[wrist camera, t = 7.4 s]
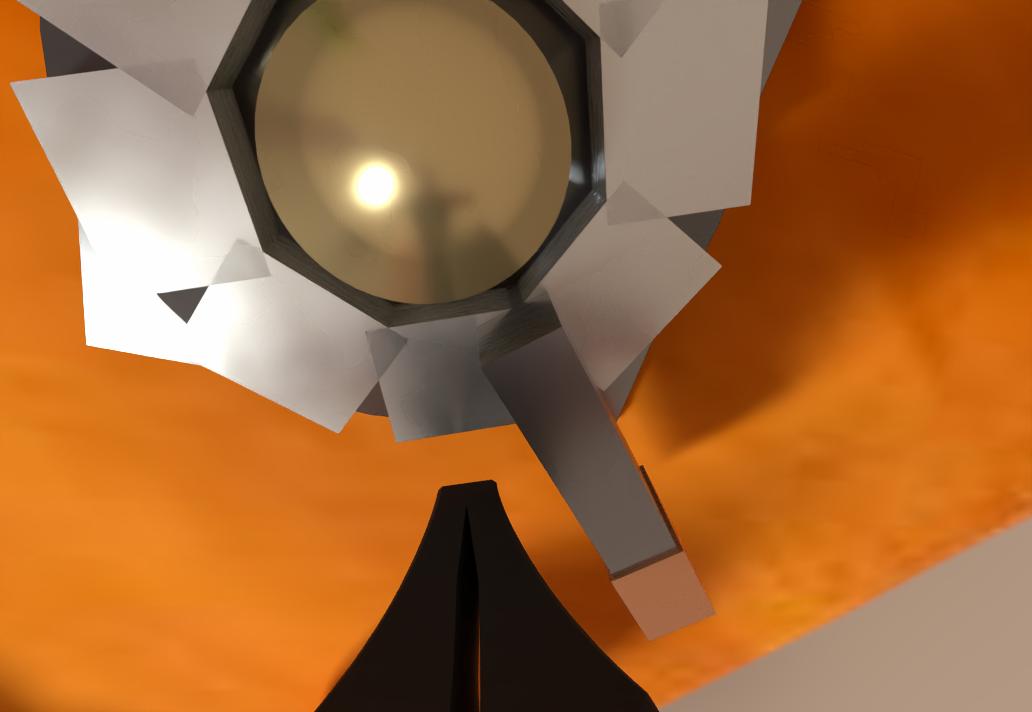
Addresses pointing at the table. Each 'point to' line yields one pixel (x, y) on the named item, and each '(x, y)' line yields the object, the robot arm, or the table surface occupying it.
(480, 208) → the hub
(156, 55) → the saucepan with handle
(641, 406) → the table surface
